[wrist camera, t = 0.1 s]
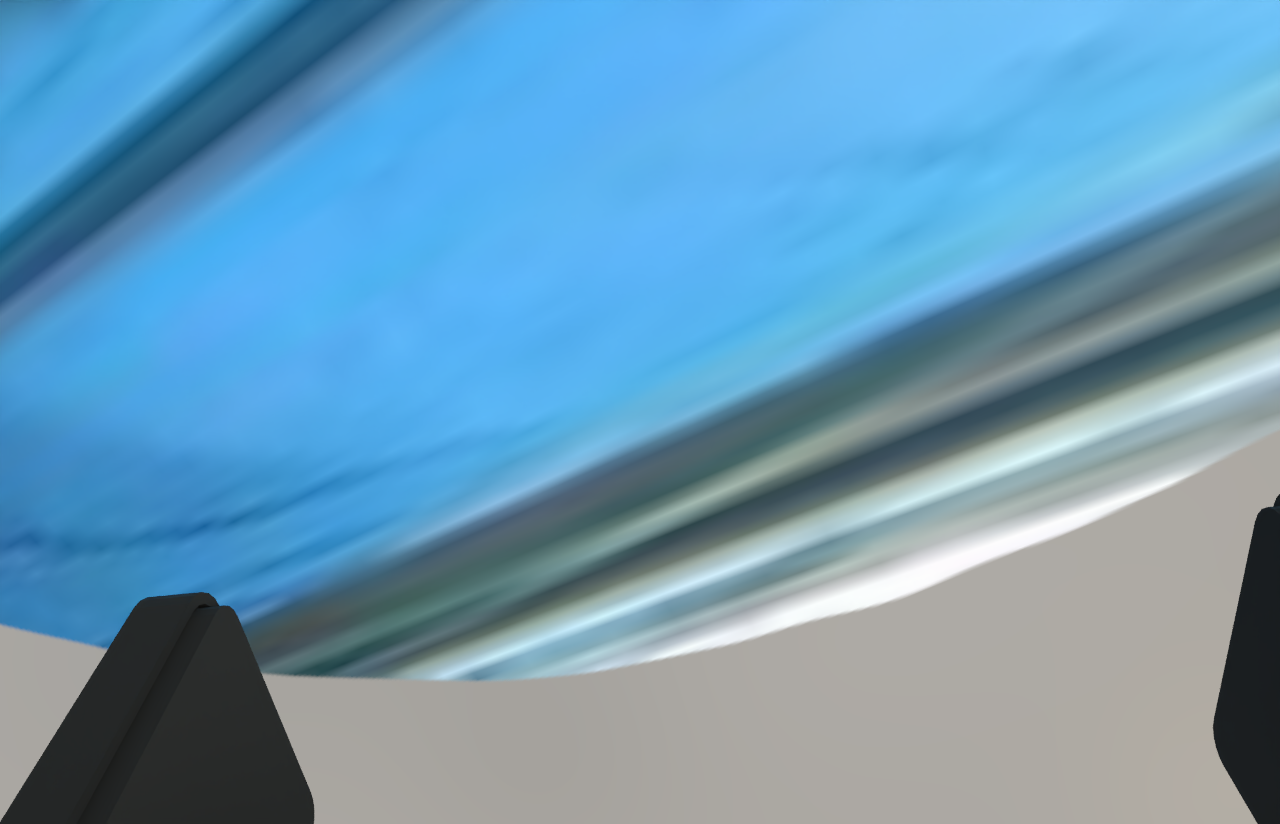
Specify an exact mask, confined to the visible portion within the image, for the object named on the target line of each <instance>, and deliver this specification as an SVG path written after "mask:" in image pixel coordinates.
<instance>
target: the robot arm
mask: <svg viewBox="0 0 1280 824" xmlns="http://www.w3.org/2000/svg"><path fill="white" fill-rule="evenodd" d="M1213 731H1214V740H1215V744H1216V748H1217V751H1218V754H1219V757H1220V759H1221V761H1222V763H1223V765H1224V767H1225V769H1226V770H1227V772H1228V774H1229V776H1230V777H1231V779H1232V781H1233V782H1234V784H1235V786H1236V787H1237V789H1238V791H1239V793H1240V794H1241V796H1242V798H1243V800H1244V801H1245V803H1246V804H1247V806H1248V808H1249V810H1250V811H1251V813H1252V815H1253V816H1254V818H1255V820H1256V822H1257V823H1258V824H1280V494H1279V496H1278V497H1277V498H1276V501H1275V503H1274V506H1273V507H1267V508H1264V509H1262V510H1261V511H1260V512H1259V513H1258V515H1257V518H1256V521H1255V525H1254V530H1253V534H1252V539H1251V544H1250V549H1249V554H1248V558H1247V563H1246V568H1245V573H1244V577H1243V582H1242V587H1241V592H1240V597H1239V601H1238V606H1237V611H1236V616H1235V621H1234V625H1233V630H1232V635H1231V640H1230V645H1229V650H1228V654H1227V659H1226V664H1225V669H1224V673H1223V678H1222V683H1221V688H1220V692H1219V697H1218V702H1217V707H1216V712H1215V716H1214V724H1213ZM0 824H314V804H313V798H312V795H311V792H310V789H309V787H308V785H307V782H306V780H305V777H304V775H303V773H302V770H301V768H300V765H299V763H298V760H297V758H296V756H295V753H294V751H293V748H292V746H291V744H290V741H289V739H288V736H287V734H286V732H285V729H284V727H283V724H282V722H281V720H280V718H279V715H278V712H277V710H276V708H275V705H274V703H273V701H272V698H271V696H270V693H269V691H268V688H267V686H266V684H265V681H264V679H263V676H262V674H261V672H260V669H259V667H258V664H257V662H256V660H255V657H254V655H253V652H252V650H251V648H250V645H249V643H248V640H247V638H246V635H245V633H244V631H243V628H242V626H241V623H240V621H239V619H238V616H237V615H236V613H235V611H234V610H233V609H232V608H231V607H230V606H219V604H218V603H217V601H216V599H215V598H214V597H213V596H211V595H210V594H209V593H204V592H199V593H189V594H178V595H168V596H157V597H147V598H145V599H143V600H141V601H140V602H139V603H138V604H137V605H136V606H135V607H134V609H133V610H132V612H131V613H130V615H129V617H128V618H127V620H126V621H125V623H124V625H123V626H122V628H121V629H120V631H119V633H118V634H117V636H116V637H115V639H114V641H113V642H112V644H111V645H110V647H109V649H108V650H107V652H106V653H105V655H104V657H103V658H102V660H101V662H100V663H99V665H98V666H97V668H96V669H95V671H94V673H93V674H92V676H91V678H90V679H89V681H88V682H87V684H86V685H85V687H84V689H83V690H82V692H81V694H80V695H79V697H78V698H77V700H76V702H75V703H74V705H73V706H72V708H71V709H70V711H69V713H68V714H67V716H66V717H65V719H64V721H63V722H62V724H61V725H60V727H59V729H58V730H57V732H56V734H55V735H54V737H53V738H52V740H51V741H50V743H49V745H48V746H47V748H46V750H45V751H44V753H43V754H42V756H41V758H40V759H39V761H38V762H37V764H36V766H35V767H34V769H33V771H32V772H31V774H30V775H29V777H28V778H27V780H26V782H25V783H24V785H23V786H22V788H21V790H20V791H19V793H18V794H17V796H16V798H15V799H14V801H13V802H12V804H11V806H10V807H9V809H8V811H7V812H6V814H5V815H4V817H3V818H2V820H1V822H0Z"/></svg>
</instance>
